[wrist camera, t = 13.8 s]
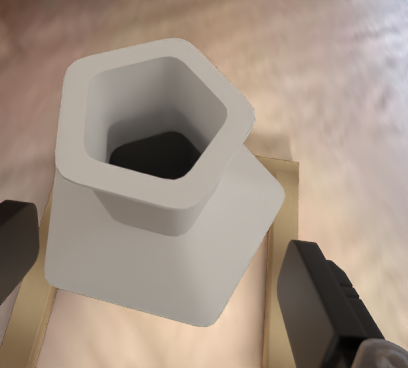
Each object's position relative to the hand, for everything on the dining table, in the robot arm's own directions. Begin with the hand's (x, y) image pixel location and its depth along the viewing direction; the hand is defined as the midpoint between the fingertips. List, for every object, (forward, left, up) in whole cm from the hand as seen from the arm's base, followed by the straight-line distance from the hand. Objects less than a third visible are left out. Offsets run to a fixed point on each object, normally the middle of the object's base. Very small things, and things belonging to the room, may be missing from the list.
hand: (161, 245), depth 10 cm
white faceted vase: (0, 0, -8) cm, 8 cm away
